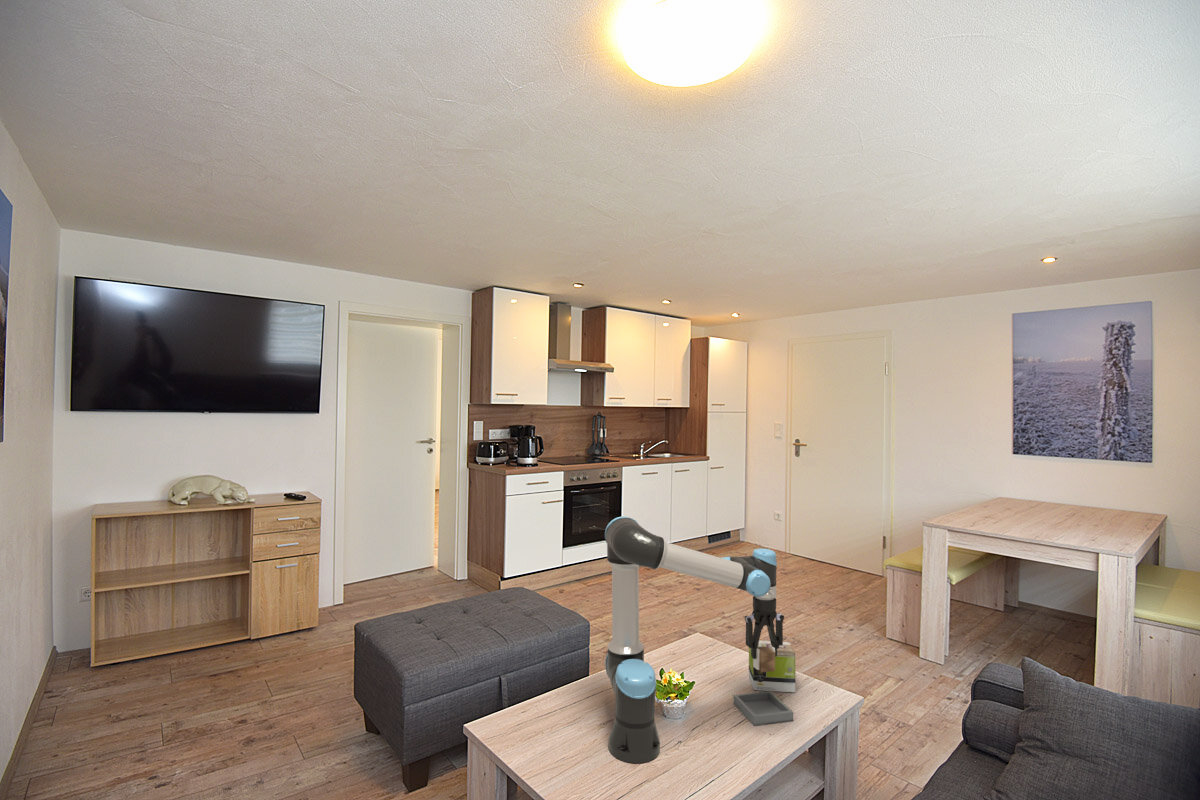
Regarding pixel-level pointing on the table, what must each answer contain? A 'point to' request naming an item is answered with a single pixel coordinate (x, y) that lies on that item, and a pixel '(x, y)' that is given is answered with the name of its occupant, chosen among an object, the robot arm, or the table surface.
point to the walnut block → (766, 659)
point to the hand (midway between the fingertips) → (764, 667)
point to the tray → (762, 708)
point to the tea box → (783, 671)
